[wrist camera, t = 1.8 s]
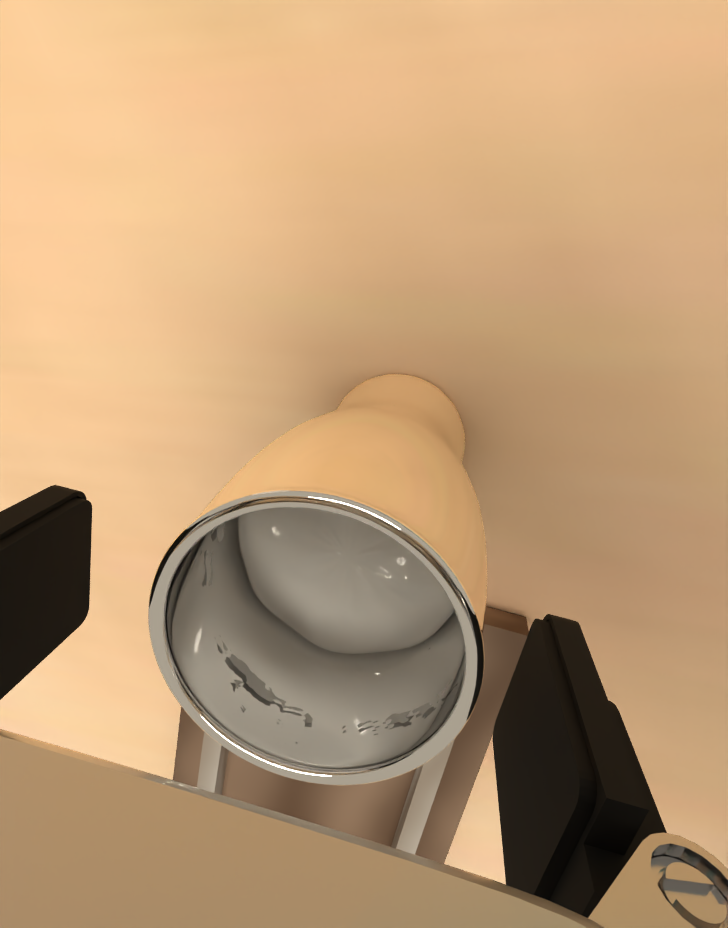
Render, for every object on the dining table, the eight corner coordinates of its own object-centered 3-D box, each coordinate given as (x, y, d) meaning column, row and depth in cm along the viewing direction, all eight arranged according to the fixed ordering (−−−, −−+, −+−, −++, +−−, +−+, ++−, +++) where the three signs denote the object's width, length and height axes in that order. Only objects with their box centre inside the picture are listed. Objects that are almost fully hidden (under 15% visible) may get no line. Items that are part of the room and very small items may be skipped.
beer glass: (328, 512, 26) (170, 779, 12) (314, 366, 24) (102, 481, 10) (476, 512, 25) (496, 811, 11) (474, 358, 22) (498, 476, 8)
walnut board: (525, 617, 26) (533, 657, 23) (417, 910, 33) (413, 967, 30) (213, 531, 27) (184, 559, 24) (176, 829, 35) (151, 877, 32)
